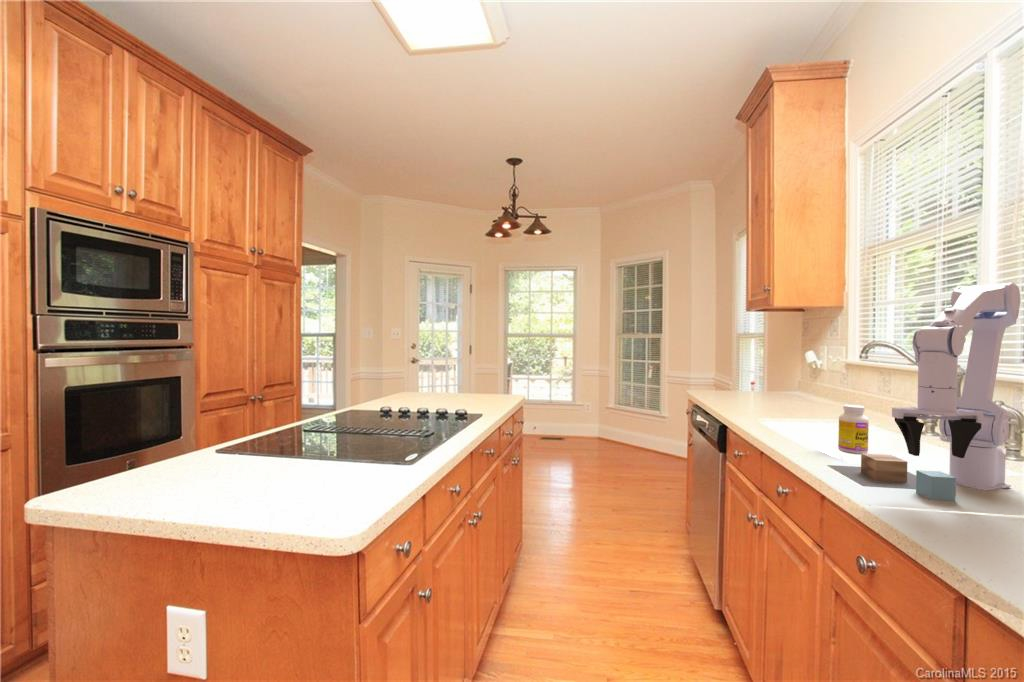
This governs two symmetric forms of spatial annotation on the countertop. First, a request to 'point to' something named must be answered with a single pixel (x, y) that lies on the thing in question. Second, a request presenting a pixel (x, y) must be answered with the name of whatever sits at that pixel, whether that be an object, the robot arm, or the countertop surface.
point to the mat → (865, 480)
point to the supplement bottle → (853, 430)
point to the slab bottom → (884, 474)
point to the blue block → (936, 485)
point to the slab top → (884, 462)
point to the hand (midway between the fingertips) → (935, 455)
